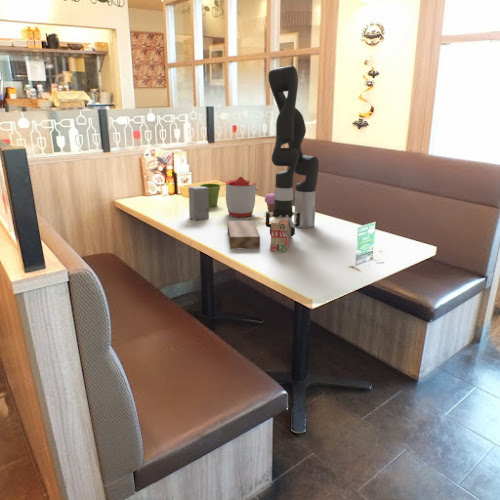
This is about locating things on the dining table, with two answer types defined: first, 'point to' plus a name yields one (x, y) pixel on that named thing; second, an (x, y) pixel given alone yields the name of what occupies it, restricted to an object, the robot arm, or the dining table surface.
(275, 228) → the stack of blocks
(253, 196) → the citrus juicer
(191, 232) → the dining table surface
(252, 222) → the walnut block
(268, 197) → the cupcake
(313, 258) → the dining table surface
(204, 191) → the skincare box
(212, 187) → the plant pot
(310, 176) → the robot arm
